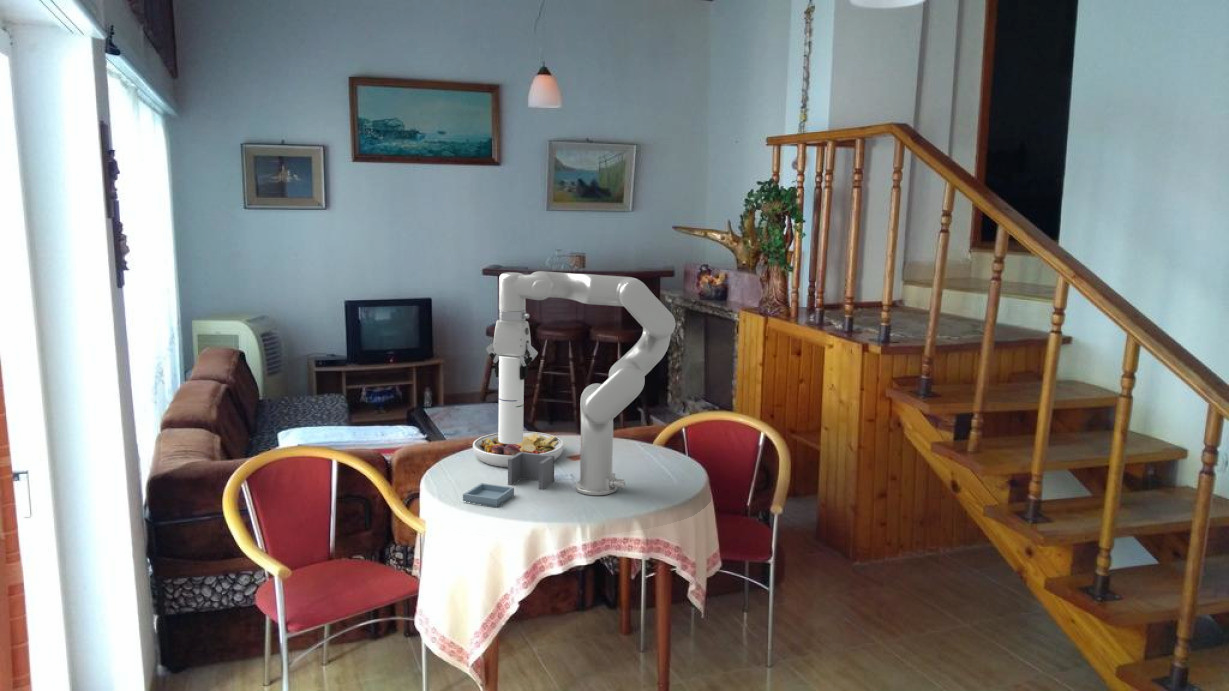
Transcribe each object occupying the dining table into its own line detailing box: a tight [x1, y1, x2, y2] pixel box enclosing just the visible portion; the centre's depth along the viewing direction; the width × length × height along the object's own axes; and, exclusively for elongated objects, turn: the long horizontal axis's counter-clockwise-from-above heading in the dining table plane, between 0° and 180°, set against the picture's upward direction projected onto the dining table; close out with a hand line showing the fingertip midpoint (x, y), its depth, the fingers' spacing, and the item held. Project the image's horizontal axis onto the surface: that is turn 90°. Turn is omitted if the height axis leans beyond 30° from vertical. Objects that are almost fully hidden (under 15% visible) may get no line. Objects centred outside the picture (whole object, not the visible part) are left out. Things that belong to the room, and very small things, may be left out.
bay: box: [507, 452, 555, 491], centre depth 252 cm, size 11×8×8 cm
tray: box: [462, 483, 515, 508], centre depth 238 cm, size 11×11×2 cm
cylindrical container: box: [497, 355, 525, 444], centre depth 241 cm, size 7×7×25 cm
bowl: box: [472, 430, 564, 468], centre depth 279 cm, size 30×30×8 cm
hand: (511, 377), depth 240 cm, fingers closed on cylindrical container, 7 cm apart
